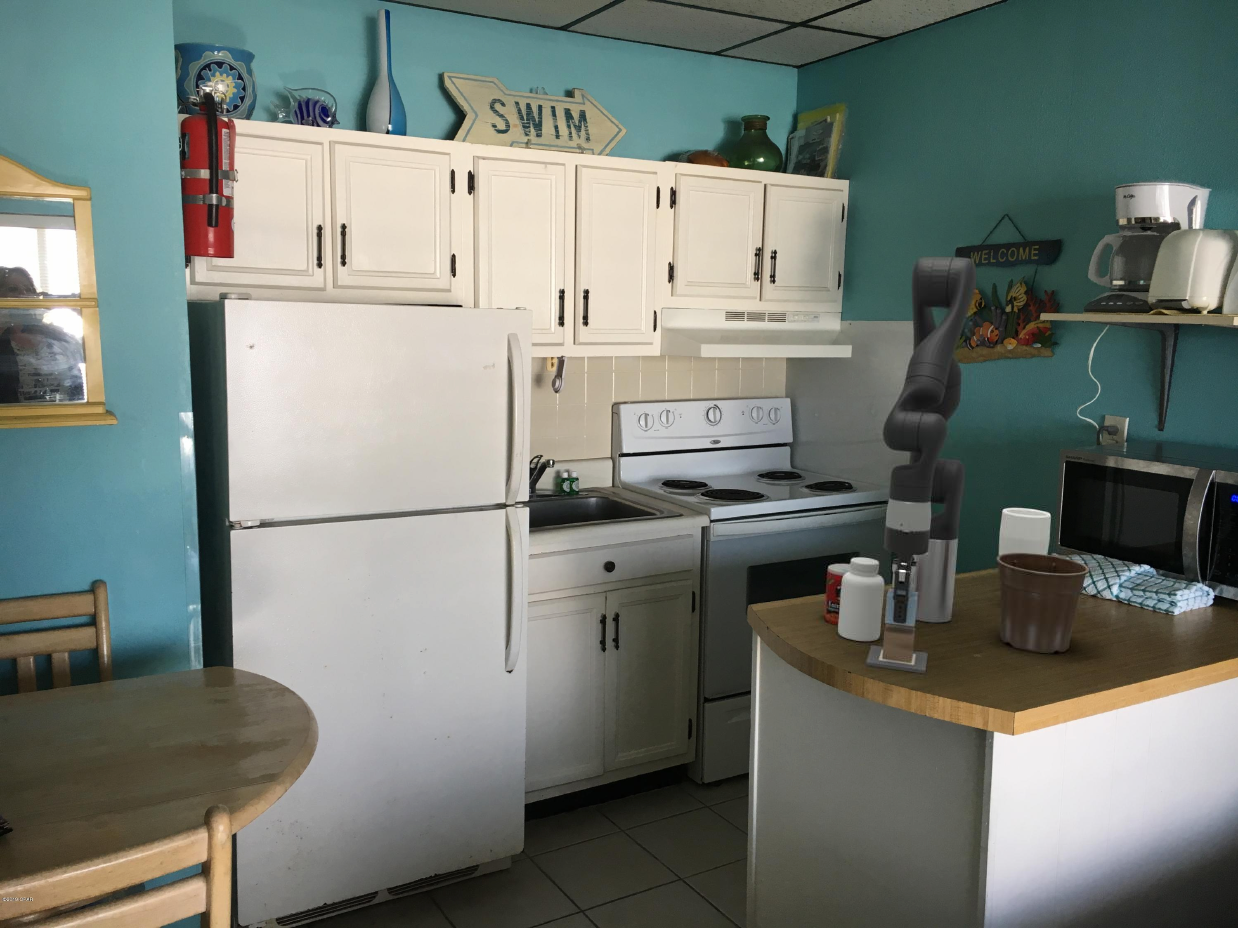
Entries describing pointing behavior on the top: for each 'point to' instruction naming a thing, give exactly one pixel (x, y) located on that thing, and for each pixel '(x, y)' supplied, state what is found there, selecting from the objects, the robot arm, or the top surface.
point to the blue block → (910, 607)
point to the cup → (1024, 531)
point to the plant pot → (1039, 600)
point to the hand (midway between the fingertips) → (900, 618)
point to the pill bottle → (861, 601)
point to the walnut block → (898, 643)
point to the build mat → (916, 665)
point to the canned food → (834, 591)
